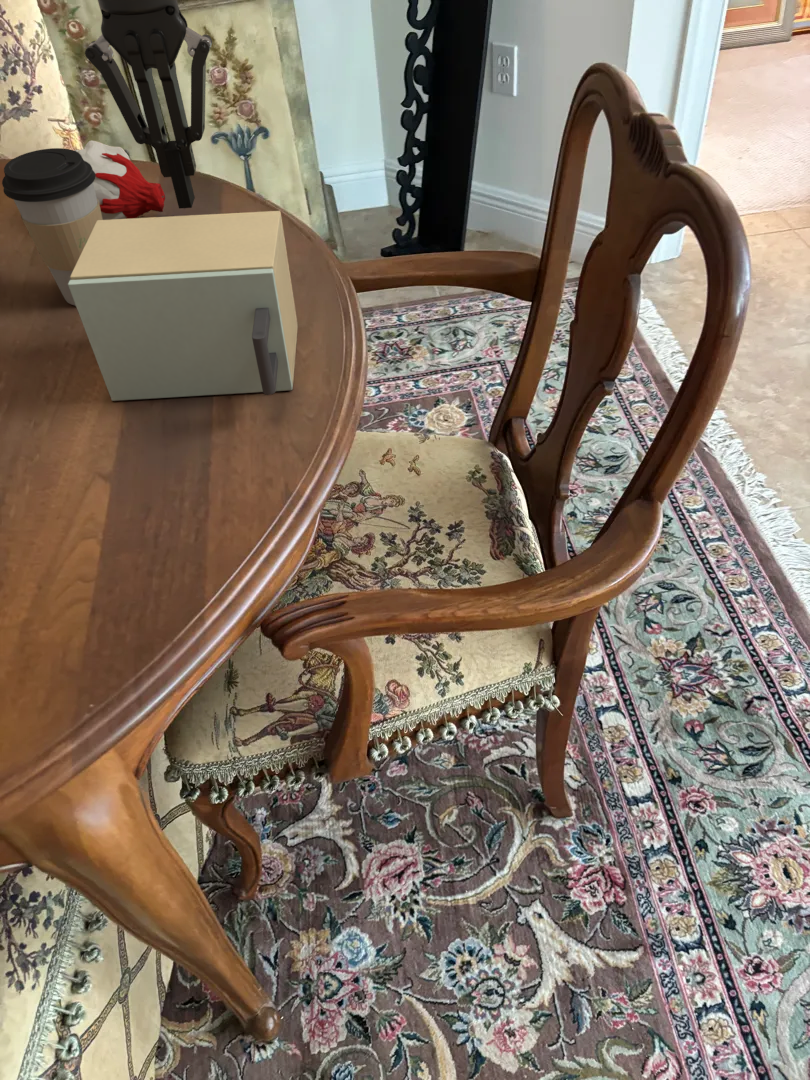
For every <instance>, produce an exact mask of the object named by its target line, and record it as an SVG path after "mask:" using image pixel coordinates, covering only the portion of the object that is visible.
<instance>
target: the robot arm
mask: <svg viewBox="0 0 810 1080" xmlns="http://www.w3.org/2000/svg"><path fill="white" fill-rule="evenodd" d="M97 2H98V6H99V9H100V12H101V24H100V31H101V34H100V36H99V37H97V38H96V40H92V41H91V42H90V43H89V45H88V46H87V47H86V48H85V50H84V55H85V57H86V59H87V60H88V61H89V62H90V63H91V64H92V65H93V67H94V68H95V69H96V70H97V71H98V72H99V73H100V74H101V77H102V79H103V81H104V82H105V84H106V87H107V89H108V91H109V92H110V94H111V96H112V98H113V100H114V103H115V104H116V106H117V108H118V110H119V112H120V113H121V116H122V118H123V119H124V122H125V124H126V125H127V128H128V129H129V131H130V133H131V135H132V137H133V139H134V141H135V142H136V143H137V144H138V145H144V144H145V145H149V146H150V147H152V148H153V149H154V151H155V155H156V158H157V162H158V167H159V170H160V173H161V175H162V176H163V178H171V179H170V180H171V183H172V186H173V190H174V194H175V199H176V203H177V206H178V207H177V208H178V209H179V210H181V209H192V208H193V205H194V202H195V198H196V197H195V192H194V189H193V183H192V180H191V176H195V173H196V170H197V163H196V158H195V154H194V150H193V145H192V144H193V143H194V142H199V141H201V140H202V139H203V136H204V133H205V129H206V85H207V84H206V83H207V82H206V81H207V80H206V79H207V78H206V77H207V59H208V56H209V53H210V50H211V48H212V45H213V39H212V37H211V36H210V35H209V34H202V35H201V34H200V33H198V32H197V31H195V30H193V29H192V28H190V27H188V21H187V19H186V17H185V16H184V15H183V13H182V12H181V10H180V8H179V3H178V0H97ZM184 41H185V43H186V45H187V48H186V49H187V54H188V55H189V56H190V57H191V58H192V60H191V65H190V67H191V68H190V125H189V123H188V119H187V115H186V114H187V113H186V110H185V106H184V102H183V101H184V100H183V95H182V93H181V88H180V83H179V79H178V75H177V66H176V60H177V58H178V56H179V53H180V51H181V48H182V45H183V43H184ZM113 49H114V51H116V52H117V54H118V55H119V56H120V57H121V58H122V59H123V60H124V61H125V62H126V63H127V64H128V65H129V66H130V67H131V71H132V76H133V78H134V79H133V80H134V81H135V83H136V85H137V90H138V93H139V97H140V100H141V105H142V109H143V113H144V116H145V117H144V116H143V114H142V112H141V110H140V108H139V106H138V104H137V102H136V100H135V98H134V95H133V93H132V91H131V90H130V88H129V85H128V83H127V82H126V79H125V78H124V75H123V74H122V72H121V69H120V67H119V65H118V63H117V62H116V60H115V59H114V56H115V53H114V51H113ZM153 69H156V70H157V74H158V78H159V80H160V83H161V86H162V90H163V94H164V99H165V103H166V107H167V111H168V115H169V119H170V123H171V127H172V131H173V136H174V140H168V139H167V138H168V136H169V132H167V130H166V126H165V122H164V118H163V113H162V110H161V105H160V101H159V97H158V93H157V88H156V85H155V81H154V77H153Z"/></svg>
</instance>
